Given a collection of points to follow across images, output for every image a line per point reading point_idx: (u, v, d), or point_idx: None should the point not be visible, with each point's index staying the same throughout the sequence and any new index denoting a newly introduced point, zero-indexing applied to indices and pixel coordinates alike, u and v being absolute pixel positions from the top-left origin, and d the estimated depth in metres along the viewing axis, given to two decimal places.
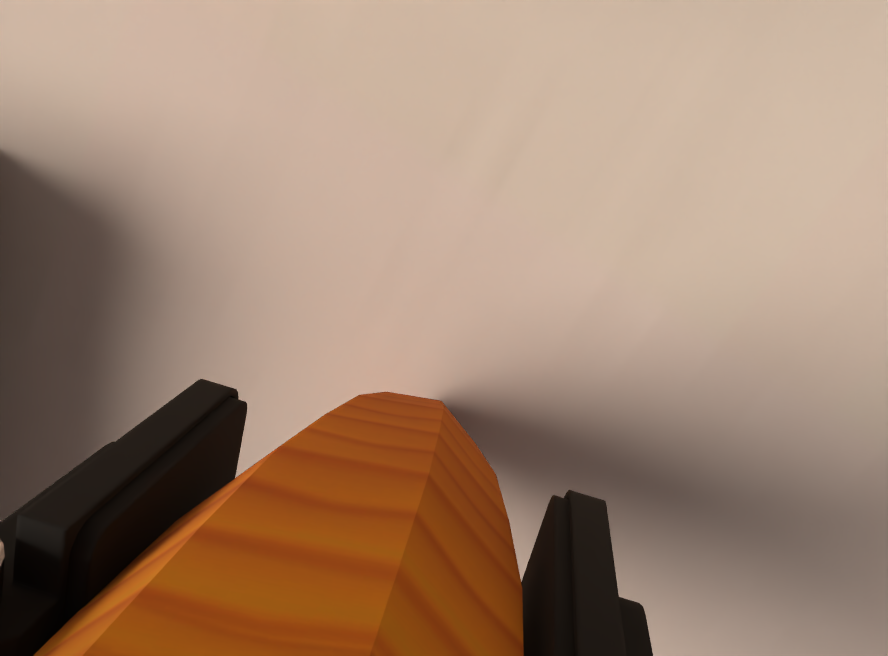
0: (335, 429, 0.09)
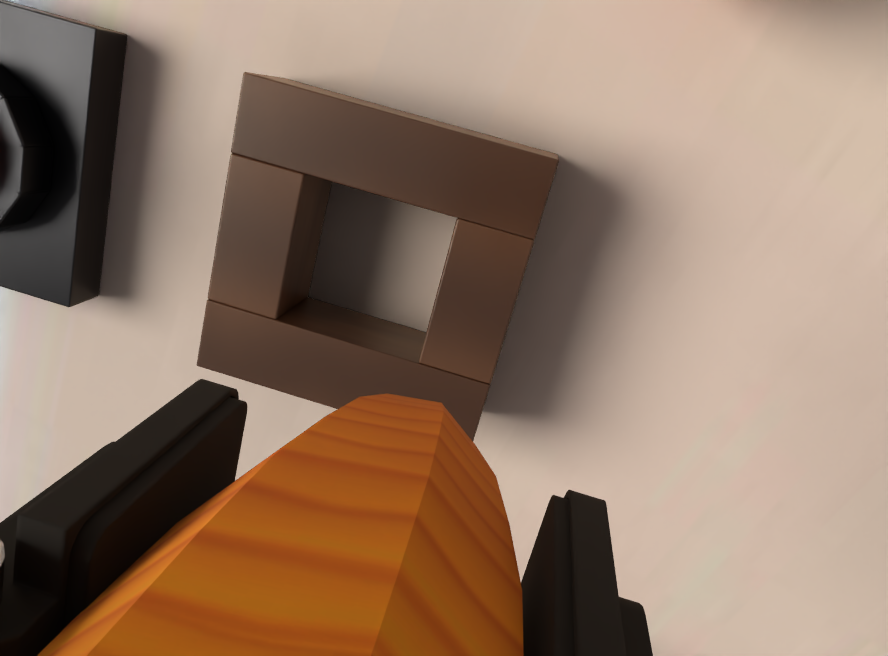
0: (336, 431, 0.09)
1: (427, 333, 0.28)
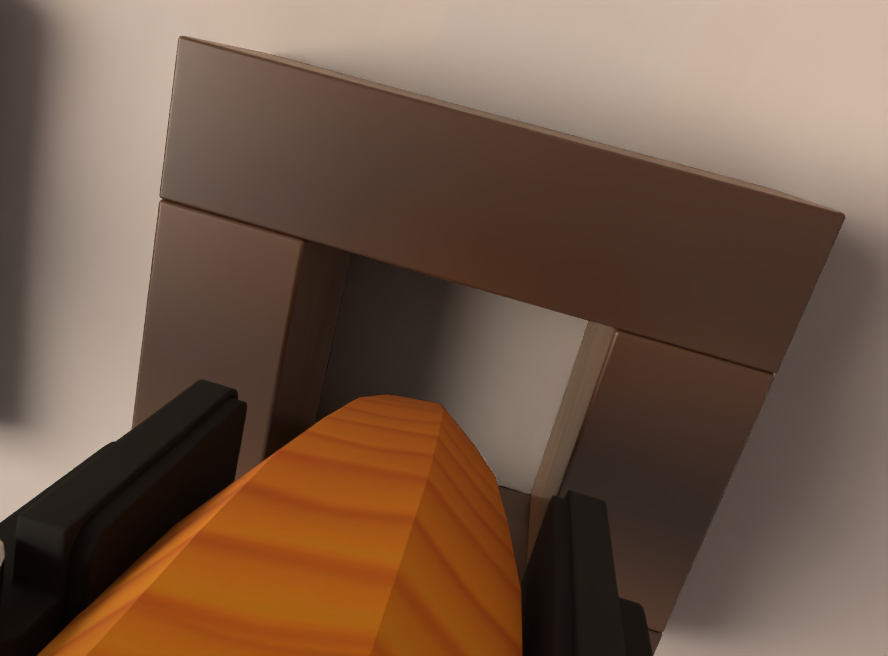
0: (335, 432, 0.09)
1: None
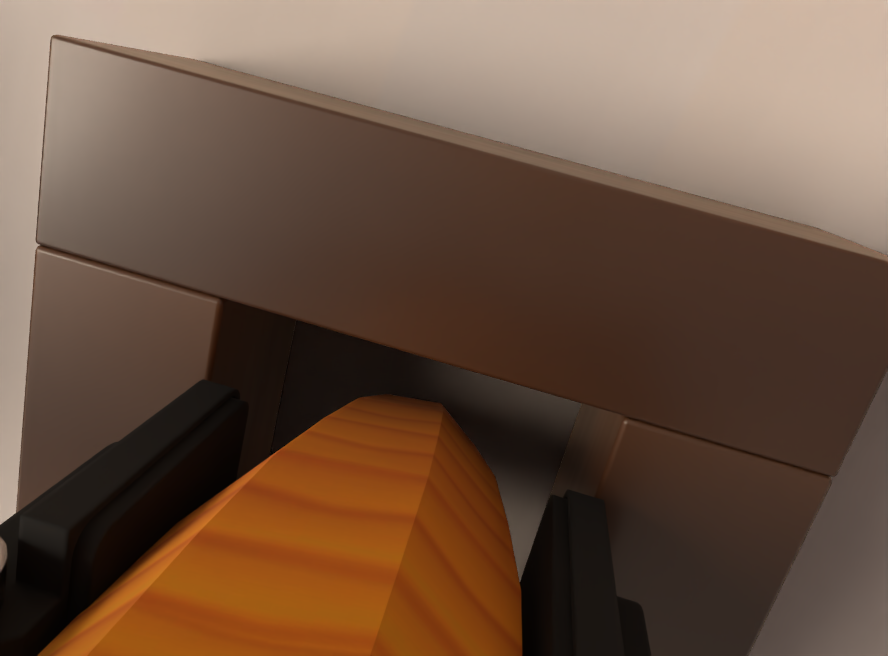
0: (336, 431, 0.09)
1: None
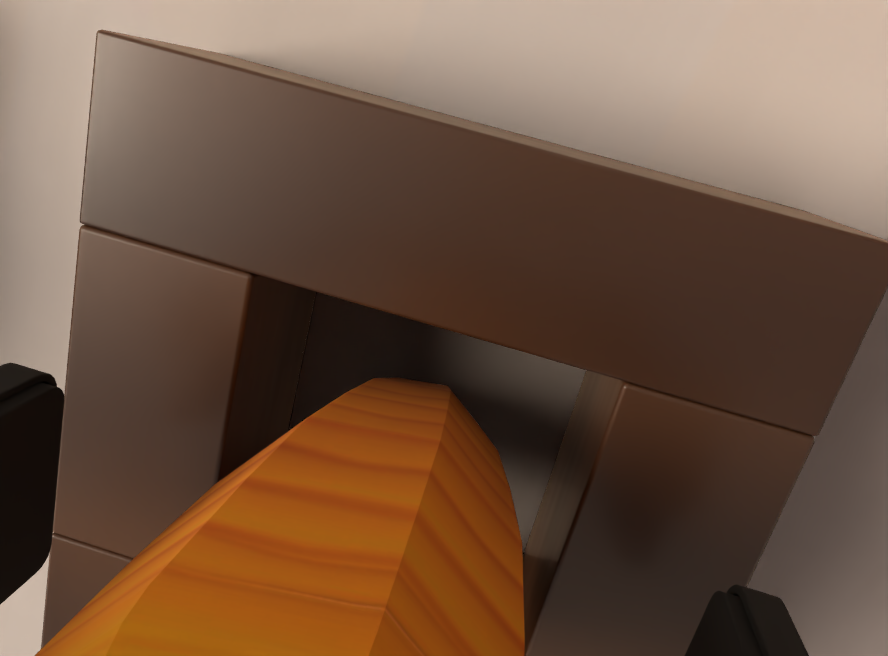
0: (356, 405, 0.10)
1: (538, 625, 0.12)
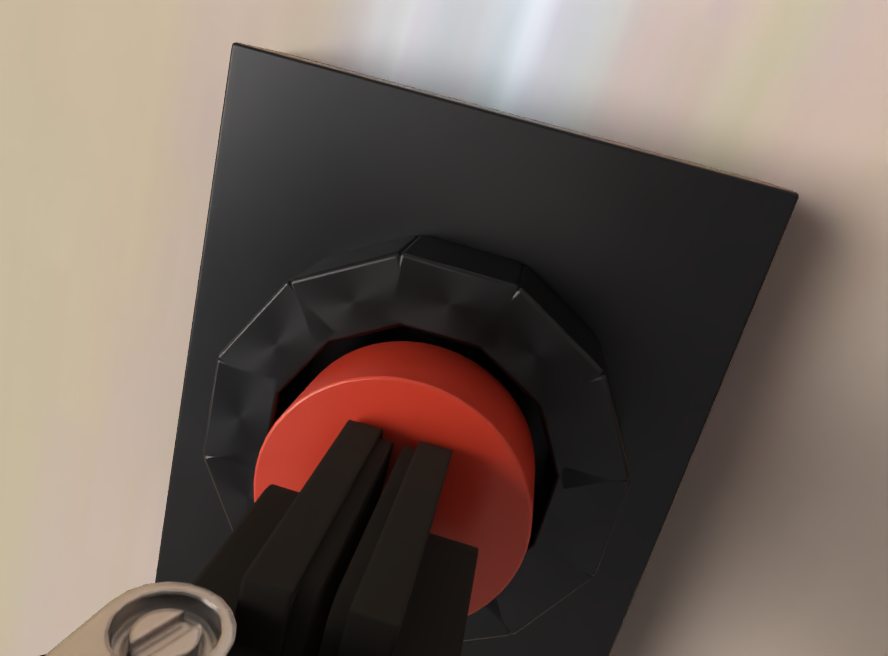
0: None
1: None
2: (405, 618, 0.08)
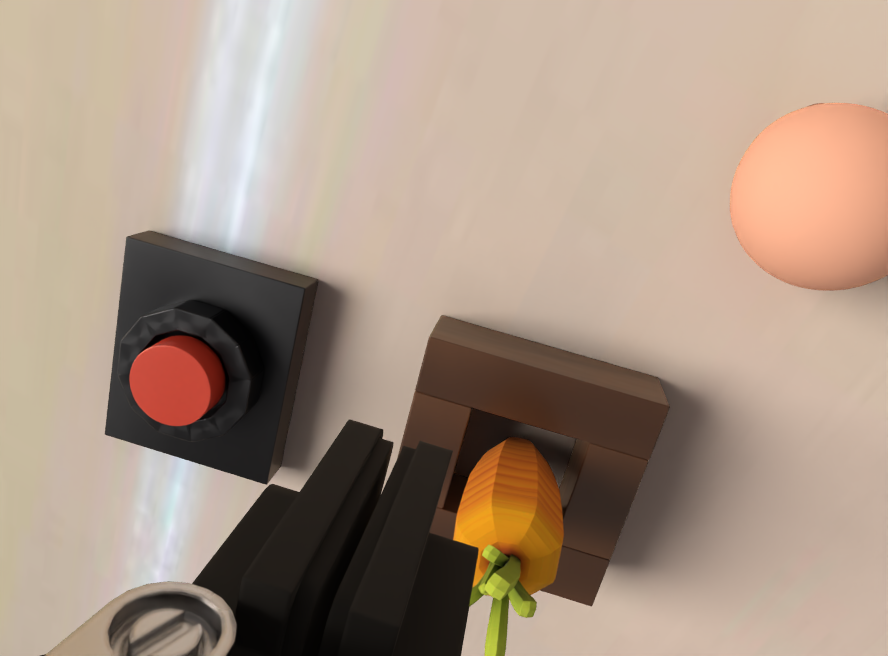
0: (509, 450, 0.34)
1: None
2: (405, 618, 0.08)
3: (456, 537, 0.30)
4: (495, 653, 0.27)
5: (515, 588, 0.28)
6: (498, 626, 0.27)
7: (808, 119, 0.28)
